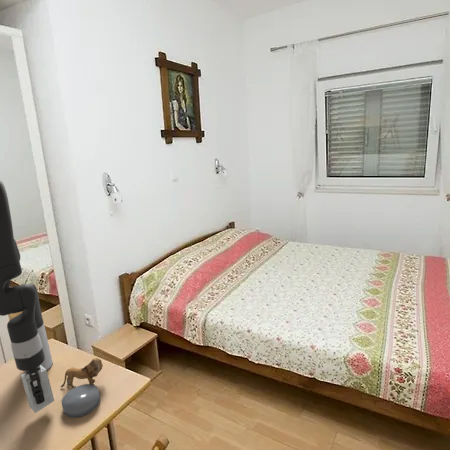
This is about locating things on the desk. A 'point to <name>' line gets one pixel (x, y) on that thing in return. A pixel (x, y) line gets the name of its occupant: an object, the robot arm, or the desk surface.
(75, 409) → the grey rounded flat disc
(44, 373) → the skincare box
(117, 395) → the desk surface
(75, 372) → the lion figurine
